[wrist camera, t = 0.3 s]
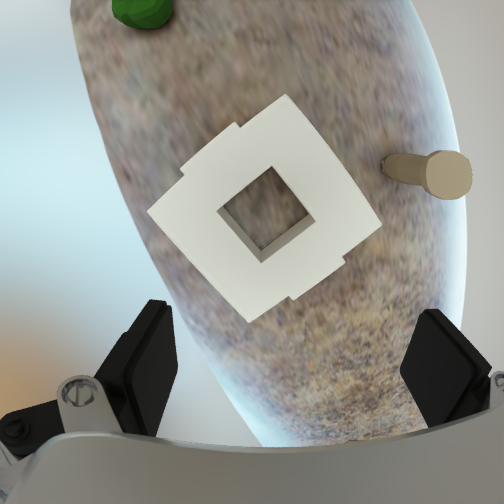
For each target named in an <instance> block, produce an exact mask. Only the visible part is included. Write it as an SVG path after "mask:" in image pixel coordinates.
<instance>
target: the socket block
mask: <svg viewBox="0 0 504 504" xmlns="http://www.w3.org/2000/svg"><path fill="white" fill-rule="evenodd" d="M271 166H272V167H273V169H274V170H275V171H276V172H277V173H278V175H279V176H280V177H281V178H282V180H283V181H284V182H285V183H286V185H287V186H288V187H289V188H290V190H291V191H292V192H293V193H294V195H295V196H296V197H297V199H298V200H299V201H300V202H301V204H302V205H303V206H304V208H305V209H306V210H307V212H308V213H309V214H308V215H307V216H305V217H304V218H303V219H302V220H300V221H299V222H298V223H296V224H295V225H294V226H293V227H291V228H290V229H289V230H287V231H286V232H285V233H283V234H282V235H281V236H280V237H278V238H277V239H276V240H274V241H273V242H272V243H270V244H269V245H268V246H267V247H265V248H264V249H263V250H260V249H259V248H258V247H257V246H256V245H255V243H254V242H253V241H252V240H251V239H250V238H249V236H248V235H247V234H246V233H245V232H244V231H243V229H242V228H241V227H240V226H239V225H238V223H237V222H236V221H235V220H234V219H233V218H232V216H231V215H230V214H229V213H228V212H227V211H226V209H225V208H224V207H223V205H224V204H225V203H226V202H228V201H229V200H230V199H231V198H232V197H234V196H235V195H236V194H237V193H238V192H240V191H241V190H242V189H243V188H245V187H246V186H247V185H248V184H250V183H251V182H252V181H253V180H254V179H256V178H257V177H258V176H259V175H261V174H262V173H263V172H264V171H266V170H267V169H268V168H270V167H271ZM180 170H181V171H182V172H183V174H184V176H183V177H182V178H181V179H180V180H179V181H178V182H177V183H176V184H175V185H174V186H172V187H171V188H170V189H169V190H168V191H167V192H166V193H165V194H164V195H163V196H162V197H161V198H160V199H159V200H158V201H157V202H156V203H155V204H154V205H153V206H152V207H151V208H150V209H149V210H148V211H147V213H148V214H149V215H150V216H151V217H152V218H153V220H154V221H155V222H156V223H157V224H158V225H159V227H160V228H161V229H162V230H163V231H164V232H165V233H166V235H167V236H168V237H169V238H170V239H171V240H172V241H173V242H174V244H175V245H176V246H177V247H178V248H179V249H180V250H181V251H182V252H183V254H184V255H185V256H186V257H187V258H188V259H189V260H190V261H191V262H192V264H193V265H194V266H195V267H196V268H197V269H198V270H199V271H200V272H201V273H202V274H203V275H204V277H205V278H206V279H207V280H208V281H209V282H210V283H211V284H212V285H213V286H214V287H215V288H216V289H217V290H218V292H219V293H220V294H221V295H222V296H223V297H224V298H225V299H226V300H227V301H228V302H229V303H230V304H231V305H232V306H233V307H234V308H235V309H236V310H237V311H238V312H239V313H240V314H241V315H242V317H243V318H244V319H245V320H246V321H247V322H248V323H250V322H251V321H253V320H254V319H256V318H257V317H259V316H260V315H261V314H263V313H264V312H266V311H267V310H269V309H270V308H272V307H273V306H274V305H276V304H277V303H279V302H280V301H282V300H283V299H284V298H286V297H287V296H290V298H291V299H292V300H295V299H296V298H298V297H299V296H301V295H302V294H303V293H305V292H306V291H308V290H309V289H310V288H312V287H313V286H314V285H316V284H317V283H319V282H320V281H321V280H323V279H324V278H325V277H327V276H328V275H330V274H331V273H332V272H334V271H335V270H336V269H338V268H339V267H340V266H342V265H343V264H344V263H346V262H345V261H344V259H343V258H342V256H343V255H345V254H346V253H347V252H348V251H350V250H351V249H352V248H354V247H355V246H356V245H357V244H359V243H360V242H361V241H363V240H364V239H365V238H366V237H368V236H369V235H370V234H372V233H373V232H374V231H375V230H377V229H378V228H379V227H380V226H382V224H381V222H380V220H379V219H378V217H377V216H376V214H375V212H374V211H373V209H372V208H371V206H370V205H369V203H368V202H367V200H366V198H365V197H364V195H363V194H362V192H361V191H360V189H359V188H358V186H357V185H356V183H355V182H354V181H353V179H352V178H351V176H350V175H349V173H348V172H347V171H346V169H345V168H344V166H343V165H342V164H341V162H340V161H339V159H338V158H337V157H336V155H335V154H334V153H333V151H332V150H331V149H330V147H329V146H328V145H327V143H326V142H325V141H324V139H323V138H322V137H321V136H320V134H319V133H318V132H317V131H316V129H315V128H314V127H313V126H312V124H311V123H310V122H309V121H308V119H307V118H306V117H305V116H304V115H303V113H302V112H301V111H300V110H299V109H298V107H297V106H296V105H295V104H294V103H293V102H292V100H291V99H290V98H289V97H288V96H287V95H286V94H284V95H283V96H282V97H280V98H279V99H277V100H276V101H275V102H273V103H272V104H271V105H269V106H268V107H267V108H265V109H264V110H263V111H261V112H260V113H259V114H257V115H256V116H255V117H253V118H252V119H251V120H250V121H248V122H247V123H246V124H244V125H243V126H242V127H241V128H240V127H239V126H238V125H237V124H236V123H235V122H233V123H232V124H231V125H230V126H229V127H227V128H226V129H225V130H224V131H222V132H221V133H220V134H219V135H218V136H216V137H215V138H214V139H213V140H212V141H210V142H209V143H208V144H207V145H206V146H205V147H203V148H202V149H201V150H200V151H199V152H198V153H197V154H195V155H194V156H193V157H192V158H191V159H190V160H189V161H188V162H187V163H185V164H184V165H183V166H182V167H181V168H180Z"/></svg>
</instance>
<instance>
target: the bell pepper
mask: <svg viewBox="0 0 504 504" xmlns="http://www.w3.org/2000/svg"><path fill="white" fill-rule="evenodd" d="M112 11H113V15H114V17H115V18H116V19H118V20H119V21H120V22H122V23H124V24H125V25H127V26H130V27H133V28H136V29H143V28H146V29H154V28H158V27H160V26H161V25H163V24H165V23H166V21H167V20H168V19H169V18H170V17H171V15H172V0H112Z"/></svg>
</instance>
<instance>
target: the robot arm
mask: <svg viewBox="0 0 504 504" xmlns="http://www.w3.org/2000/svg"><path fill="white" fill-rule="evenodd" d="M491 369H492V366H491V365H490V364H489V363H488V362H487V361H486V359H485V358H484V357H483V356H482V355H481V354H480V353H479V351H478V350H477V349H476V348H475V347H474V346H473V345H472V344H471V343H470V341H469V340H468V339H467V338H466V337H465V336H464V335H463V334H462V333H461V332H460V331H459V330H458V329H457V328H456V326H455V325H454V324H453V323H452V322H451V321H450V320H449V319H448V318H447V317H446V316H445V315H444V314H443V313H442V312H441V311H440V310H439V309H425V310H424V311H423V313H421V314H420V315H419V318H418V321H417V324H416V327H415V330H414V333H413V335H412V338H411V341H410V343H409V346H408V349H407V351H406V354H405V356H404V359H403V361H402V364H401V366H400V374H401V376H402V378H403V380H404V382H405V383H406V385H407V387H408V389H409V391H410V393H411V395H412V396H413V398H414V400H415V402H416V404H417V406H418V408H419V410H420V412H421V414H422V416H423V418H424V420H425V422H426V424H427V426H428V428H427V429H423V430H419V431H414V432H410V433H405V434H401V435H396V436H391V437H386V438H380V439H374V440H368V441H361V442H353V443H345V444H335V445H323V446H308V447H241V446H226V445H213V444H201V443H193V442H185V441H178V440H171V439H164V438H157V437H156V434H157V431H158V428H159V425H160V422H161V419H162V416H163V413H164V410H165V406H166V403H167V401H168V398H169V395H170V392H171V389H172V386H173V383H174V380H175V377H176V374H177V370H178V362H177V354H176V345H175V336H174V326H173V317H172V307H171V306H170V305H167V303H166V301H161V300H152V299H151V300H149V301H148V302H147V304H146V305H145V307H144V308H143V309H142V311H141V312H140V314H139V315H138V317H137V318H136V320H135V321H134V322H133V324H132V325H131V327H130V328H129V330H128V331H127V332H124V333H123V334H122V335H121V337H120V338H119V340H118V341H117V342H116V344H115V346H114V347H113V348H112V350H111V351H110V353H109V354H108V356H107V357H106V359H105V360H104V362H103V363H102V365H101V367H100V368H99V370H98V371H97V373H96V374H95V376H94V377H90V376H85V375H79V376H73V377H71V378H68V379H67V380H65V381H64V382H63V383H62V384H61V385H60V386H59V388H58V390H57V399H56V400H53V401H49V402H46V403H43V404H39V405H36V406H32V407H29V408H25V409H21V410H17V411H13V412H11V413H8V414H6V415H5V416H4V417H3V418H2V419H1V420H0V504H504V372H503V371H497V372H495V373H493V374H492V376H491V377H490V378H489V377H488V374H489V372H490V370H491Z"/></svg>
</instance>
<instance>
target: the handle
mask: <svg viewBox="0 0 504 504" xmlns="http://www.w3.org/2000/svg"><path fill="white" fill-rule="evenodd" d="M381 164H382V173H384V174H386V175H388V176H389V177H390V178H392V179H394V180H396V181H399V182H402V183H406V184H412V185H420V186H423V188H424V190H425V191H426V192H428V193H429V194H431V195H433V196H435V197H437V198H440V199H443V200H454V199H459V198H460V197H462V196H463V195H465V194H466V193H467V192H468V191H469V190H470V188H471V184H472V169H471V165H470V162H469V160H468V159H467V158H466V157H464V156H463V155H461V154H460V153H458V152H456V151H435V152H433V153H431V154H429V155H428V156H421V155H415V154H407V153H402V154H394V155H389V156H387V158H386V159H385V160H382V161H381Z"/></svg>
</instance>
